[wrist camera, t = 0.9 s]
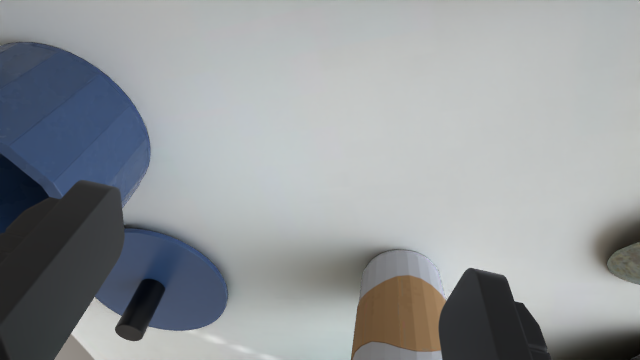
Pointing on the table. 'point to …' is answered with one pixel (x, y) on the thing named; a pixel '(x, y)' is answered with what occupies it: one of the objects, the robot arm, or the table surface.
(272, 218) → the table surface
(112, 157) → the tin
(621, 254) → the soupspoon
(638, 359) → the lucky cat figurine
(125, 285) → the tin lid
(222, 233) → the table surface
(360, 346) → the coffee cup
